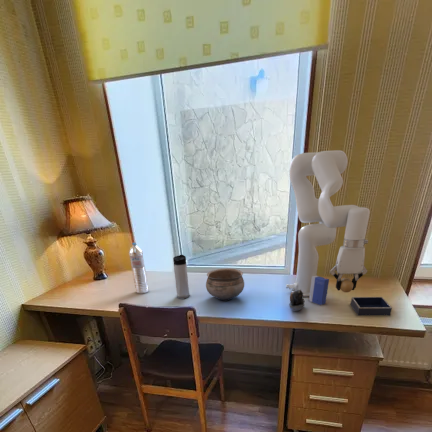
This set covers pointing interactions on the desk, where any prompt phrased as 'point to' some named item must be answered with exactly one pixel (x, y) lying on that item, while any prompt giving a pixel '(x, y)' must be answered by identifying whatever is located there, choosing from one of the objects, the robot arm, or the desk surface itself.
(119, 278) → the desk surface
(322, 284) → the walkman
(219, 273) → the cooking pot
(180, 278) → the travel mug
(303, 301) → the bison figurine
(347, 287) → the potato
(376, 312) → the square open-top storage box
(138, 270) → the water bottle
